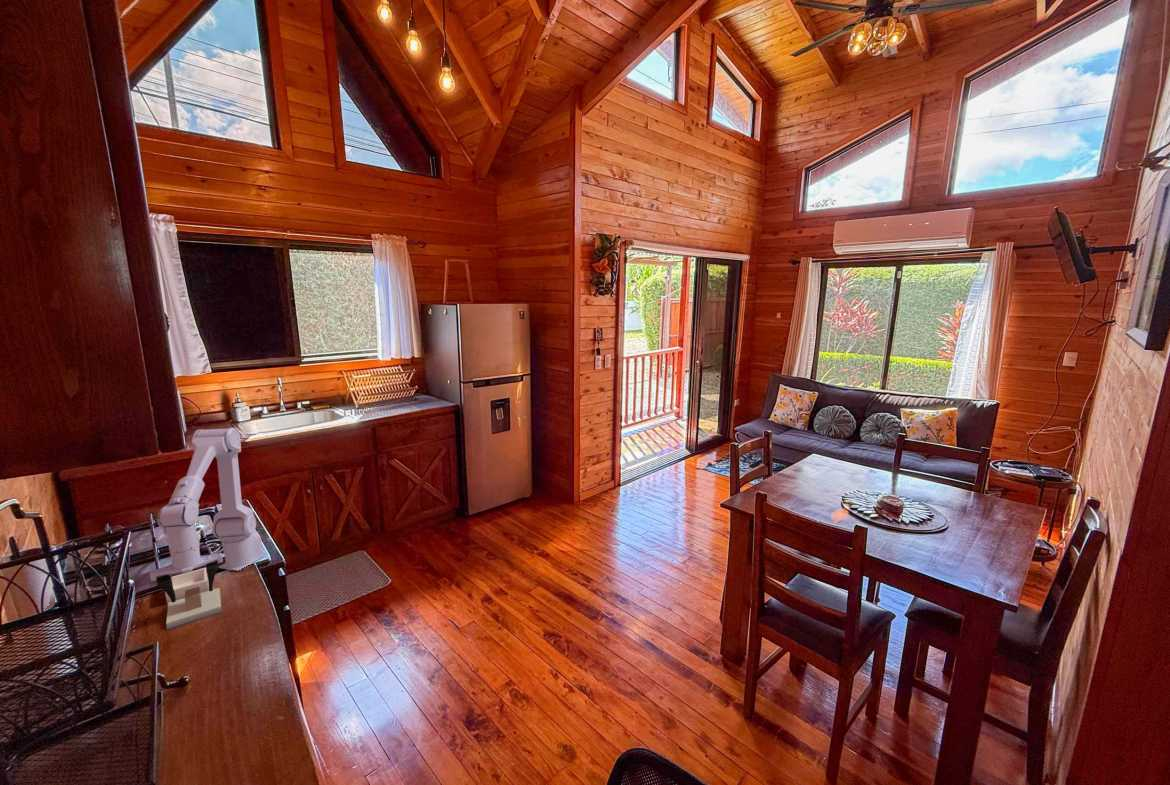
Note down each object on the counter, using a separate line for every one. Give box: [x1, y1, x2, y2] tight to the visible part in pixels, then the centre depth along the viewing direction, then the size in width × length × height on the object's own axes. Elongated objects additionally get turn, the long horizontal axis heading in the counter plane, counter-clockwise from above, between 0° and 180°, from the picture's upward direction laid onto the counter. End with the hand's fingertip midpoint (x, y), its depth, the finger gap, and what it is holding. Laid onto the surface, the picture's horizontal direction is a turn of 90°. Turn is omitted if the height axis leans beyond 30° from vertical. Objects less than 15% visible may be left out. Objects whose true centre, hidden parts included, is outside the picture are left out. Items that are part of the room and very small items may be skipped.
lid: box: [165, 586, 222, 627], centre depth 128 cm, size 11×11×4 cm
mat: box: [166, 595, 222, 631], centre depth 128 cm, size 13×11×1 cm
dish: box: [164, 567, 209, 605], centre depth 136 cm, size 9×9×4 cm
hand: (192, 595), depth 127 cm, fingers open, 7 cm apart
